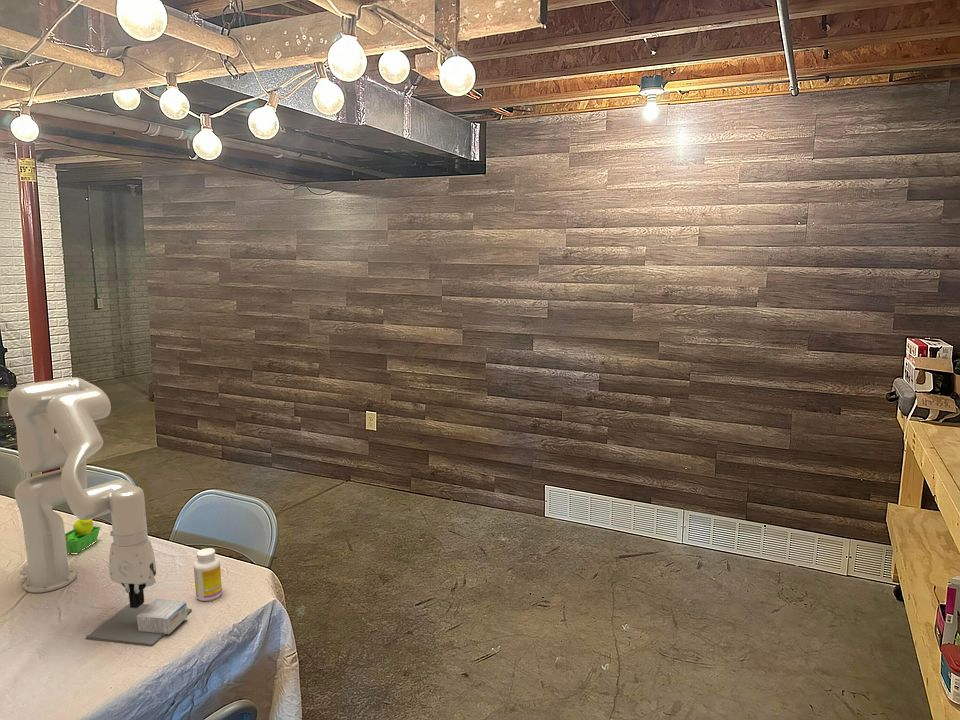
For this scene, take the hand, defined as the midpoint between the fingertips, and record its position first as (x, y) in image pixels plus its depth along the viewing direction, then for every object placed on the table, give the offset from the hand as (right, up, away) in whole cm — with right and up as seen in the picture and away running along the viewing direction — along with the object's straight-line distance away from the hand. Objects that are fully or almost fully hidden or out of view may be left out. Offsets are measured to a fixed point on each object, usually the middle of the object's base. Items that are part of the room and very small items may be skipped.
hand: (137, 605), depth 168 cm
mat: (0, -5, +1) cm, 5 cm away
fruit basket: (-40, +2, +44) cm, 60 cm away
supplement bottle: (+12, -3, +15) cm, 19 cm away
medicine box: (+2, -2, 0) cm, 3 cm away
